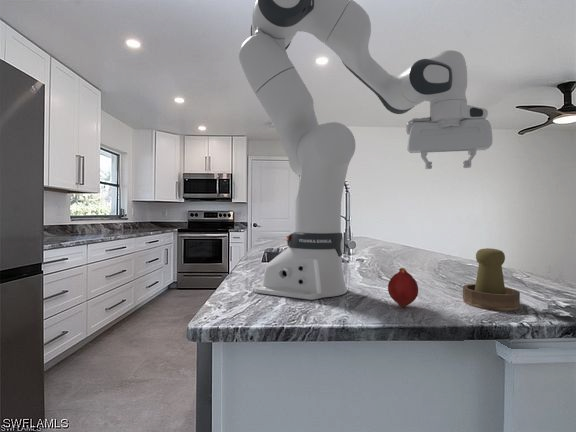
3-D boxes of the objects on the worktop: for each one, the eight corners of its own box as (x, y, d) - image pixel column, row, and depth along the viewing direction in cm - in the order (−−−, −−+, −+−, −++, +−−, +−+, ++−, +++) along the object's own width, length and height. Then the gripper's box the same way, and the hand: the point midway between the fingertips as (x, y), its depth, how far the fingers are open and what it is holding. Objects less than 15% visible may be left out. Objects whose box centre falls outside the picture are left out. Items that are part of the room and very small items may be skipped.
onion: (393, 301, 70) (393, 264, 70) (421, 306, 66) (421, 267, 66) (383, 307, 65) (384, 267, 65) (413, 313, 62) (414, 271, 62)
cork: (512, 305, 65) (513, 250, 65) (479, 304, 66) (480, 249, 66) (499, 298, 71) (499, 247, 71) (469, 296, 72) (469, 247, 72)
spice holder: (470, 308, 65) (470, 293, 65) (458, 296, 74) (458, 282, 74) (528, 312, 62) (528, 296, 62) (508, 299, 72) (508, 285, 72)
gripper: (407, 115, 86) (407, 167, 86) (495, 109, 81) (494, 165, 81) (405, 122, 92) (405, 170, 92) (486, 116, 87) (486, 168, 87)
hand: (447, 168), depth 86 cm, fingers open, 8 cm apart
